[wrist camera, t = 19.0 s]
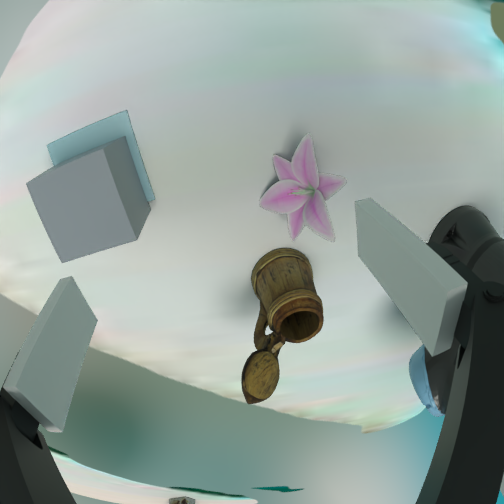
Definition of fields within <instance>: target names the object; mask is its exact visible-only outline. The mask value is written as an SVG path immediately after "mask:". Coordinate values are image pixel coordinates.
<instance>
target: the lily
mask: <svg viewBox="0 0 504 504" xmlns="http://www.w3.org/2000/svg"><path fill="white" fill-rule="evenodd" d="M273 163H274V167H275V170H276V173H277V176H278V178H279V180H280V181H278V182H277V183H275V184H273V185H272V186H271V187H270V188H269V189H268V190H267V191H266V192H265V193H264V195H263V196H262V197H261V199H260V203H259V205H260V207H262V208H263V209H266V210H268V211H272V212H275V213H279V214H287V221H288V229H289V234H290V238H291V240H292V242H293V241H295V240H296V239H297V237H298V236H299V234H300V233H301V231H302V230H303V228H304V226H305V224H306V226H307V227H308V228H309V229H311V230H312V231H313V232H315V233H316V234H318V235H319V236H321V237H322V238H324V239H326V240H328V241H331V242H335V234H334V230H333V227H332V223H331V220H330V217H329V214H328V210H327V206H326V203H325V201H326V200H327V199H329V198H330V197H332V196H333V195H334V194H335V193H336V192H338V191H339V190H340V189H341V188H342V187H343V186H344V185H345V184H346V183H347V179H346V178H344V177H341V176H337V175H333V174H327V173H318V168H317V163H316V158H315V151H314V145H313V140H312V136H311V134H310V133H308V134H306V135H305V136H304V138H303V139H302V140H301V142H300V143H299V145H298V147H297V149H296V150H295V152H294V155H293V157H292V161H291V162H290V161H288V160H286V159H284V158H282V157H280V156H278V155H275V154H274V155H273Z"/></svg>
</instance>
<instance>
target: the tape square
mask: <svg viewBox="0 0 504 504" xmlns="http://www.w3.org/2000/svg"><path fill="white" fill-rule="evenodd" d="M123 136H126V140H127V143H128V146H129V149H130V152H131V155H132V158H133V161H134V164H135V167H136V170H137V173H138V176H139V179H140V182H141V185H142V188H143V191H144V193H145V196H146V199H147V202H148V201H152V200H155V197H154V194H153V191H152V188H151V185H150V182H149V179H148V176H147V173H146V170H145V167H144V164H143V161H142V158H141V155H140V152H139V149H138V146H137V142H136V139H135V136H134V133H133V129H132V126H131V123H130V119H129V116H128V113H127V110H126V111H123V112H121V113H118V114H115V115H113V116H110V117H108V118H105V119H103V120H101V121H98V122H96V123H93V124H91V125H89V126H86V127H84V128H82V129H80V130H78V131H75V132H73V133H71V134H69V135H67V136H65V137H63V138H60V139H58V140H56V141H54V142H52V143H50V144H48V145H47V148H48V151H49V154H50V156H51V159H52V162H53V165H54V166H55V165H57V164H59V163H61V162H63V161H65V160H67V159H70V158H72V157H74V156H76V155H79V154H81V153H83V152H86V151H88V150H90V149H93V148H95V147H98V146H100V145H103V144H105V143H108V142H110V141H113V140H115V139H118V138H121V137H123Z"/></svg>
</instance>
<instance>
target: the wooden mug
mask: <svg viewBox="0 0 504 504" xmlns="http://www.w3.org/2000/svg"><path fill="white" fill-rule="evenodd" d="M251 281H252V286H253V289H254V292H255V294H256V296H257V298H258V299H259V300H260V313H259V317H258V320H257V323H256V327H255V332H254V344H255V347H256V349H257V351H255V352H253V353H252V354H251V355H250V356H249V358H248V359H247V361H246V363H245V365H244V368H243V371H242V391H243V394H244V396H245V399H246V402H247V403H248V404H254V403H258V402H261V401H264V400H266V399H267V398H269V397H270V396H271V395H272V393H273V392H274V390H275V389H276V386H277V383H278V380H279V363H278V354H279V351H280V349H281V347H282V346H283V345H284V344H285V341H287V342H292V343H301V342H304V341H307V340H309V339H311V338H312V337H314V336H315V335H316V334H317V333H318V332H320V330H321V328H322V326H323V306H322V301H321V299H320V297H319V296H318V295H317V293H316V289H315V286H314V282H313V274H312V269H311V265H310V263H309V260H308V259H307V258H306V256H305V255H304V254H302V253H301V252H299V251H297V250H294V249H288V248H281V249H276V250H273V251H271V252H269V253H267V254H266V255H265V256H263V257H262V258H261V259H260V260H259V261H258V263H257V264H256V266H255V267H254V269H253V271H252V276H251ZM268 325H269V327H270V330H271V331H274V332H272V333H271V334H269V335H265V330H266V327H267V326H268Z"/></svg>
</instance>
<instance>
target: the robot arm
mask: <svg viewBox="0 0 504 504" xmlns="http://www.w3.org/2000/svg"><path fill="white" fill-rule="evenodd" d="M355 211H356V224H357V240H358V256H359V257H360V259H361V260H362V261H363V262H364V264H365V265H366V266H367V267H368V269H369V270H370V271H371V273H372V274H373V275H374V277H375V278H376V279H377V280H378V282H379V283H380V284H381V286H382V287H383V288H384V290H385V291H386V292H387V294H388V295H389V296H390V298H391V299H392V300H393V302H394V303H395V305H396V306H397V307H398V309H399V310H400V311H401V313H402V314H403V316H404V317H405V318H406V320H407V321H408V323H409V324H410V325H411V327H412V328H413V330H414V331H415V332H416V334H417V335H418V337H419V338H420V340H421V341H422V343H423V345H422V346H421V347H420V348H419V349H418V350H417V351H416V352H415V353H414V354H413V355H412V357H411V359H410V362H409V373H410V377H411V381H412V384H413V386H414V389H415V391H416V393H417V395H418V397H419V399H420V400H421V402H422V403H423V404H424V405H425V406H426V408H427V410H428V411H429V412H430V413H431V414H432V415H434V416H437V417H439V416H443V415H445V418H444V422H443V426H442V429H441V433H440V436H439V440H438V443H437V446H436V450H435V453H434V456H433V459H432V462H431V465H430V468H429V471H428V474H427V476H426V479H425V482H424V484H423V487H422V489H421V492H420V494H419V497H418V499H417V502H416V504H496V502H497V498H498V494H499V491H500V490H501V492H502V494H503V496H504V239H502V238H501V237H500V236H499V235H498V233H497V232H496V230H495V229H494V228H493V226H492V225H491V224H490V221H489V220H488V218H487V217H486V216H485V215H484V214H483V213H482V212H480V211H479V210H477V209H476V208H474V207H471V206H462V207H459V208H457V209H455V210H453V211H451V212H450V213H449V214H448V215H446V216H445V217H444V218H443V220H442V221H441V222H440V223H439V225H438V226H437V227H436V229H435V231H434V233H433V234H432V237H431V239H430V242H429V243H426V244H425V243H424V242H423V241H422V240H421V239H420V238H419V237H417V236H416V235H415V234H414V233H413V232H412V231H410V230H409V229H408V228H407V227H406V226H404V225H403V224H402V223H401V222H400V221H398V220H397V219H396V218H395V217H394V216H392V215H391V214H390V213H389V212H387V211H386V210H385V209H384V208H382V207H381V206H380V205H379V204H377V203H376V202H375V201H374V200H372V199H371V198H368V199H364V200H359V201H355ZM97 321H98V320H97V318H96V317H95V315H94V313H93V312H92V310H91V308H90V307H89V305H88V303H87V302H86V300H85V298H84V296H83V295H82V293H81V291H80V289H79V288H78V286H77V284H76V282H75V281H74V279H73V277H72V276H70V277H67V278H63V279H60V281H59V282H58V284H57V285H56V287H55V289H54V290H53V292H52V293H51V295H50V297H49V298H48V300H47V302H46V304H45V305H44V307H43V309H42V310H41V312H40V314H39V316H38V317H37V319H36V321H35V323H34V325H33V326H32V328H31V330H30V332H29V334H28V336H27V338H26V340H25V341H24V343H23V345H22V347H21V349H20V351H19V352H18V354H17V356H16V358H15V361H14V363H13V364H12V366H11V367H12V368H11V369H10V371H9V373H8V375H7V377H6V379H5V382H4V384H3V386H2V388H1V391H0V504H76V502H75V500H74V498H73V497H72V495H71V493H70V491H69V489H68V487H67V485H66V484H65V482H64V480H63V478H62V476H61V474H60V472H59V470H58V468H57V466H56V463H55V461H54V459H53V457H52V455H51V452H50V450H49V448H48V446H47V444H46V441H45V438H44V436H43V435H42V433H41V432H40V431H39V430H38V426H39V423H40V424H41V425H42V426H43V427H44V428H45V429H47V430H48V431H49V432H63V429H64V425H65V421H66V418H67V414H68V410H69V406H70V403H71V399H72V396H73V392H74V389H75V386H76V383H77V379H78V376H79V373H80V370H81V367H82V364H83V361H84V358H85V355H86V352H87V349H88V346H89V343H90V340H91V337H92V335H93V332H94V329H95V326H96V324H97Z"/></svg>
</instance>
